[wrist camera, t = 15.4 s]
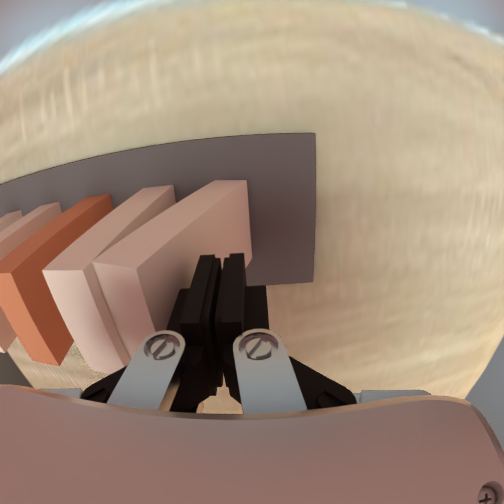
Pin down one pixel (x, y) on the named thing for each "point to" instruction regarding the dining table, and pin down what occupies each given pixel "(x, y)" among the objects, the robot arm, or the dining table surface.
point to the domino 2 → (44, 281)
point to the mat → (194, 178)
